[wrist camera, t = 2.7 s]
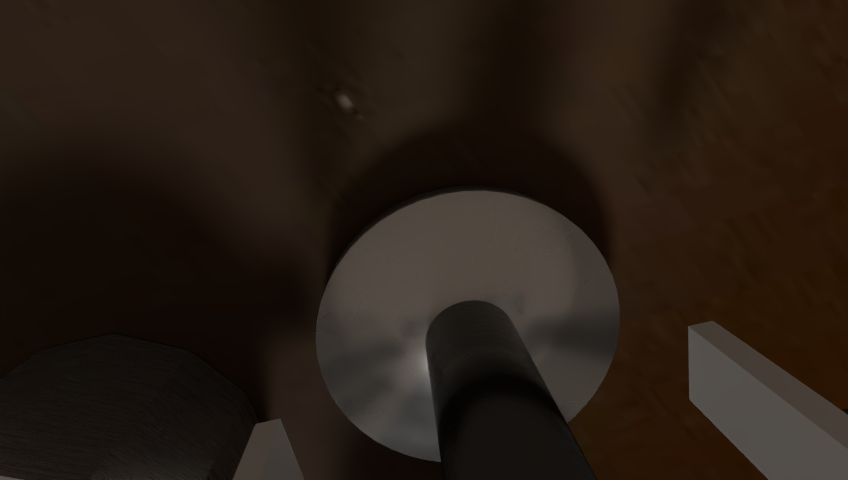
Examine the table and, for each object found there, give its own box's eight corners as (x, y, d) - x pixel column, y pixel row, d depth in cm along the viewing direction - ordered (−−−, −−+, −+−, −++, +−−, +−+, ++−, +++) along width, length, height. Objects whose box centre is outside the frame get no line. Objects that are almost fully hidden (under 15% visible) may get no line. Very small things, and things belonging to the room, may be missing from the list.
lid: (582, 150, 17) (869, 231, 7) (605, 395, 21) (812, 685, 11) (287, 217, 17) (131, 396, 7) (363, 450, 21) (336, 793, 11)
